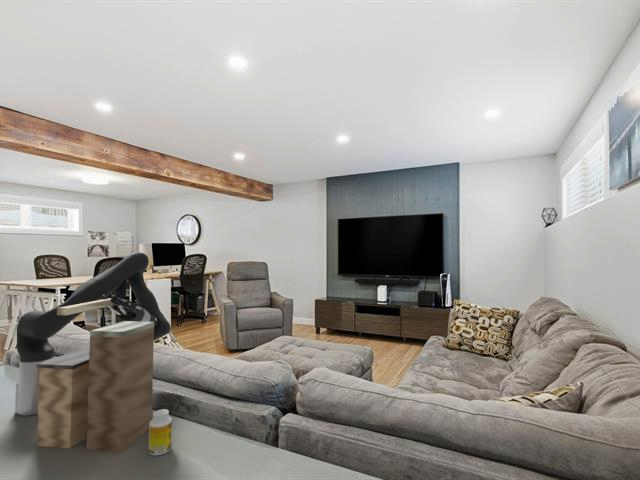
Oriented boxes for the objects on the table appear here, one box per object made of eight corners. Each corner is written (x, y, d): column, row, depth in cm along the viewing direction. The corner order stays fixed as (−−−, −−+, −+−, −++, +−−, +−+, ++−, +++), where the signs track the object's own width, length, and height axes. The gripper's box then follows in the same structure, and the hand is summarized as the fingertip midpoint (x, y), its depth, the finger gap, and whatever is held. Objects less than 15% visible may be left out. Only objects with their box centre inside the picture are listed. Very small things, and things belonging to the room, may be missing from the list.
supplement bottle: (171, 453, 93) (172, 414, 94) (148, 458, 91) (149, 418, 91) (170, 443, 98) (171, 406, 99) (148, 448, 96) (149, 410, 96)
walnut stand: (86, 449, 95) (90, 330, 96) (121, 424, 109) (124, 321, 110) (120, 452, 94) (123, 331, 95) (151, 426, 108) (154, 321, 109)
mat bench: (33, 446, 96) (36, 364, 97) (82, 418, 113) (84, 347, 114) (70, 449, 95) (72, 365, 96) (113, 420, 112) (115, 348, 113)
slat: (56, 315, 99) (57, 307, 99) (111, 303, 121) (111, 297, 121) (66, 315, 99) (66, 308, 99) (119, 303, 121) (119, 297, 121)
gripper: (121, 306, 134) (92, 287, 120) (155, 306, 133) (130, 287, 118) (114, 325, 130) (83, 308, 116) (149, 326, 129) (122, 309, 114)
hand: (107, 298), depth 117 cm, fingers closed on slat, 3 cm apart
